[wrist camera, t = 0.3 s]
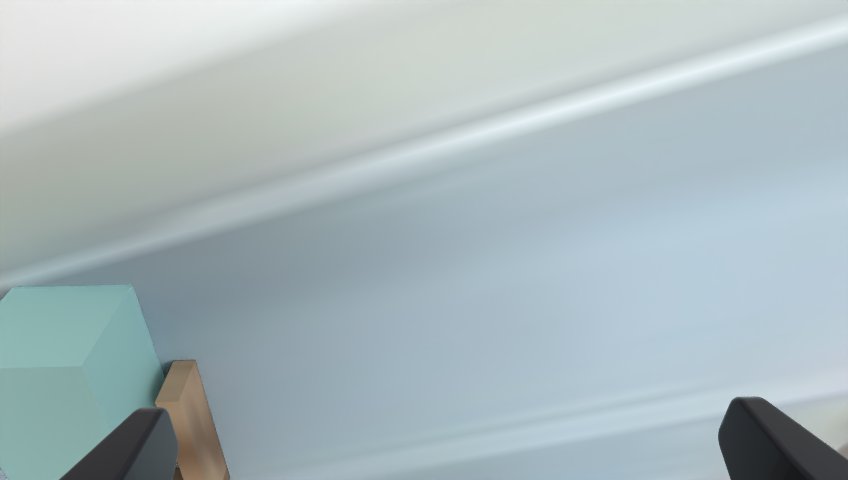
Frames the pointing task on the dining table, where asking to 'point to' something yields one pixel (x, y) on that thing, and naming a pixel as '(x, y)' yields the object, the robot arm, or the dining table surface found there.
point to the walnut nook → (192, 424)
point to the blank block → (69, 373)
